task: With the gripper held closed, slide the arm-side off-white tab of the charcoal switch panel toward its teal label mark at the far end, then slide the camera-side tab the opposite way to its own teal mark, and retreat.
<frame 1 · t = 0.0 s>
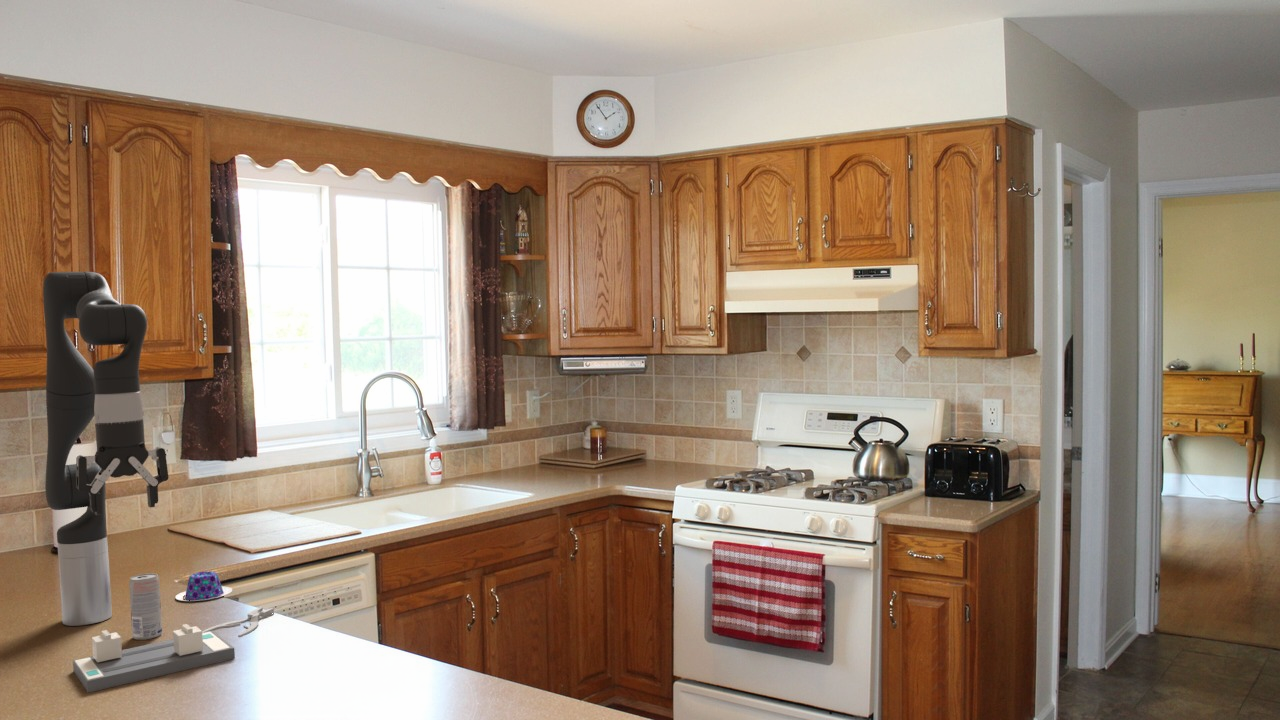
hand: (125, 510, 177), 29 cm above the countertop, fingers open, 8 cm apart
tab b: (187, 638, 183), point 4 cm above the countertop, slide at 12.0 cm
pliers: (244, 626, 206), on the countertop
tab a: (106, 644, 181), point 4 cm above the countertop, slide at 0.0 cm
pudding: (204, 597, 230), on the countertop
switch panel: (155, 664, 183), on the countertop
energy drink: (147, 637, 201), on the countertop
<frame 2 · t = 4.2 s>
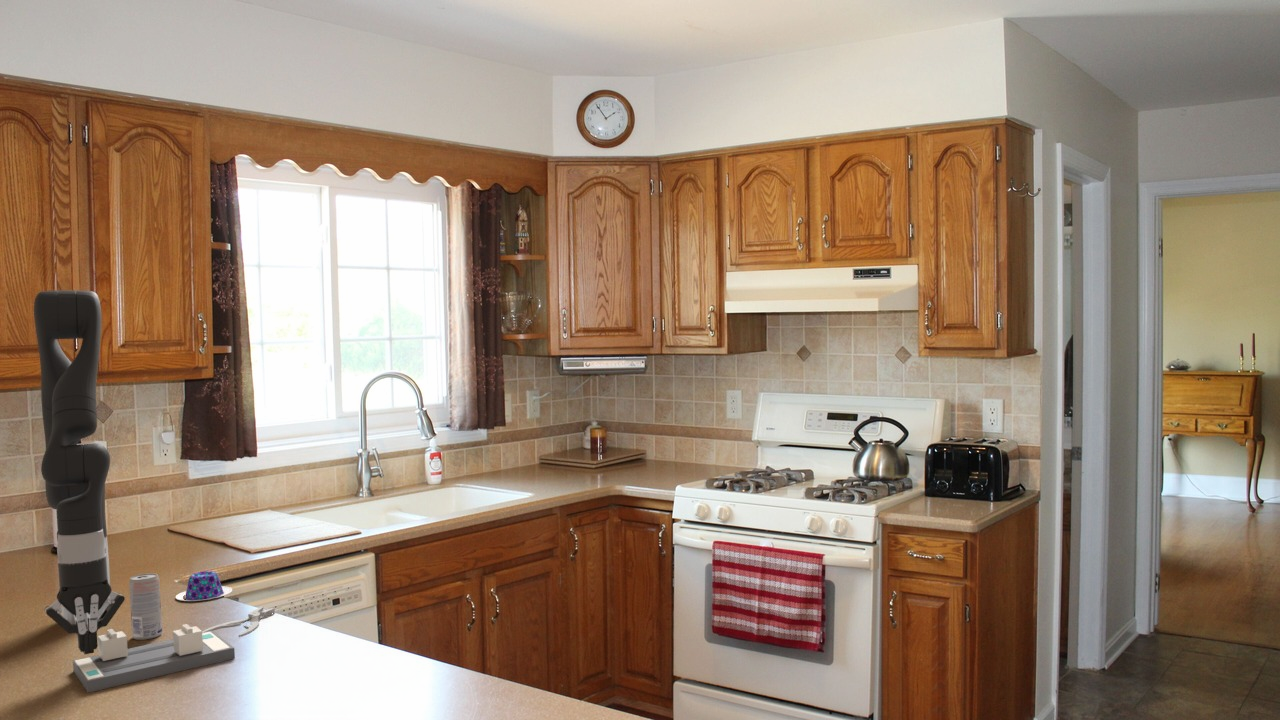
hand: (88, 652, 180), 4 cm above the countertop, fingers closed
tab a: (112, 643, 182), point 4 cm above the countertop, slide at 1.0 cm, touching gripper
everything else where it was.
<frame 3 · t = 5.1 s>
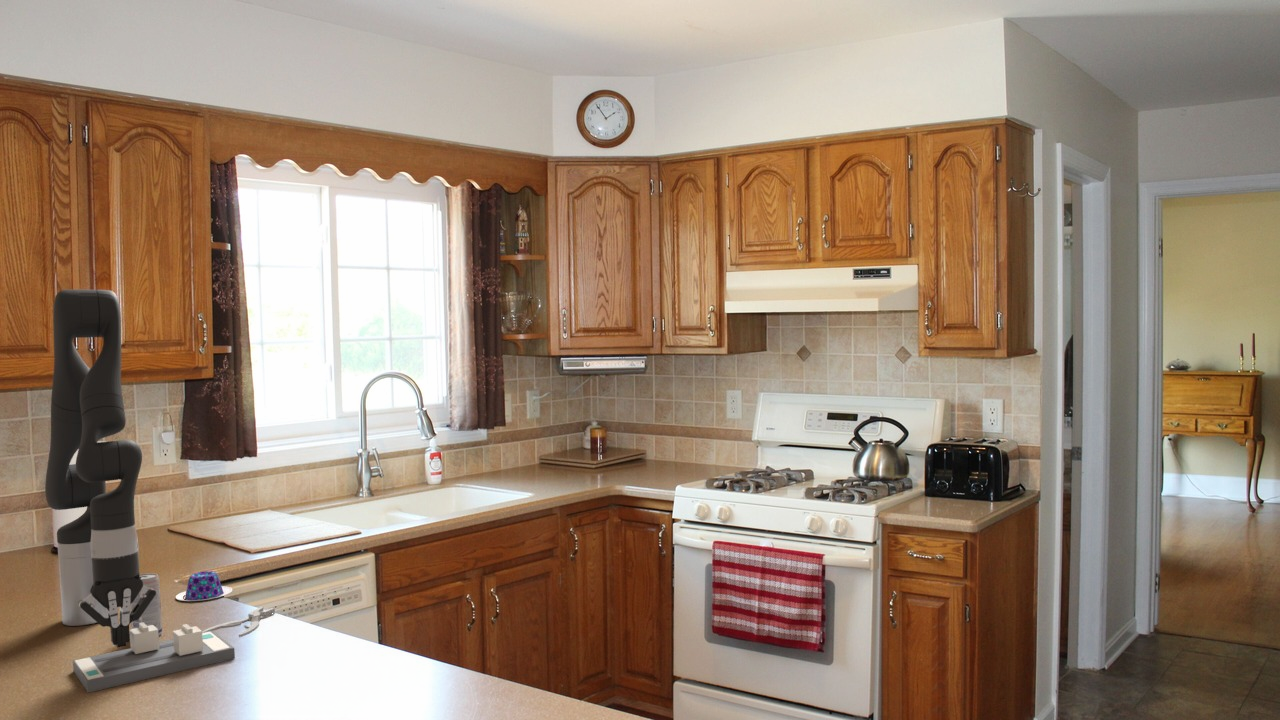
hand: (120, 645, 183), 4 cm above the countertop, fingers closed
tab a: (144, 637, 185), point 4 cm above the countertop, slide at 6.2 cm, touching gripper
everything else where it was.
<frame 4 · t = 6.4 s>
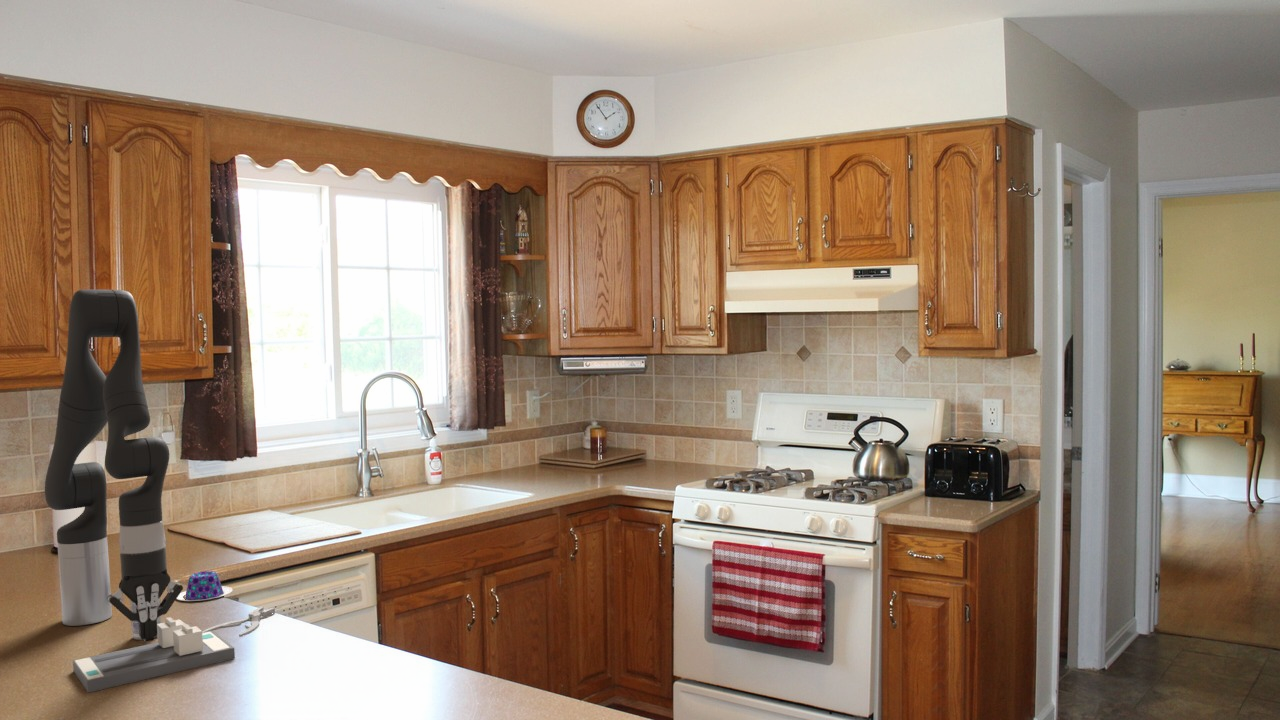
hand: (148, 639, 186), 4 cm above the countertop, fingers closed
tab a: (171, 631, 188), point 4 cm above the countertop, slide at 10.8 cm, touching gripper
everything else where it was.
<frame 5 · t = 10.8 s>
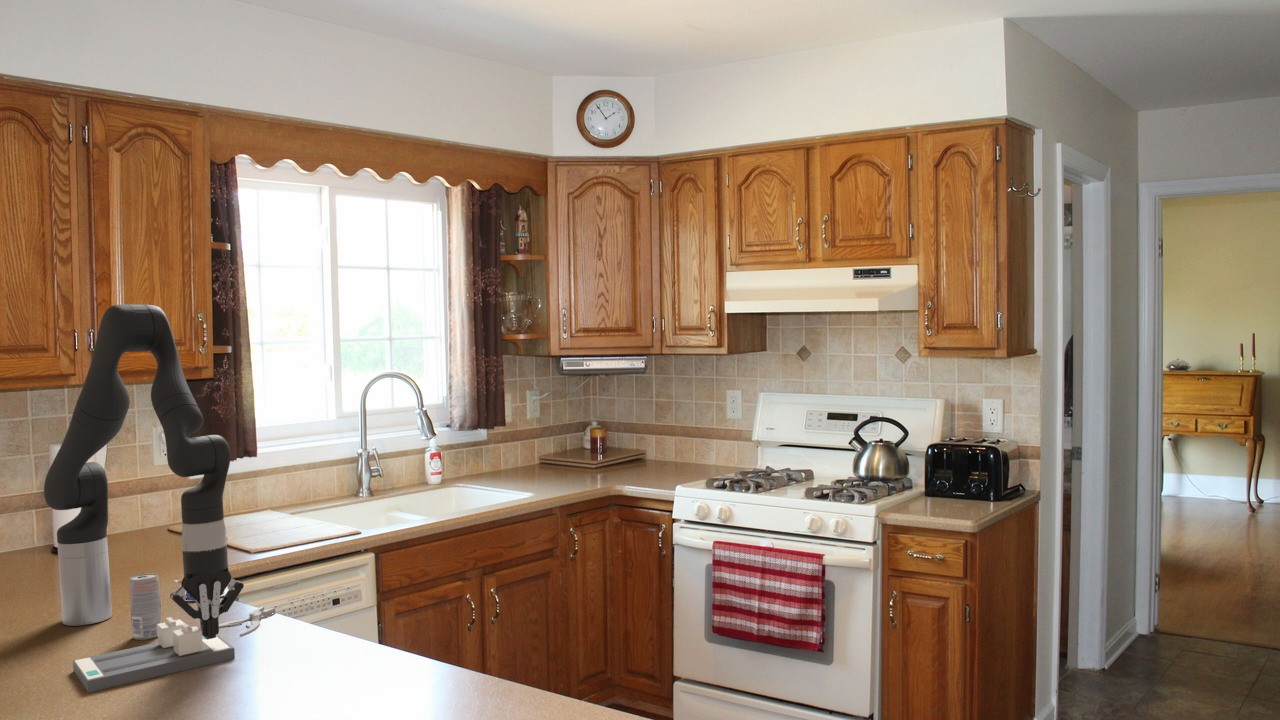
hand: (210, 637, 186), 4 cm above the countertop, fingers closed
tab b: (187, 638, 183), point 4 cm above the countertop, slide at 11.9 cm, touching gripper
tab a: (171, 631, 188), point 4 cm above the countertop, slide at 10.9 cm
everything else where it was.
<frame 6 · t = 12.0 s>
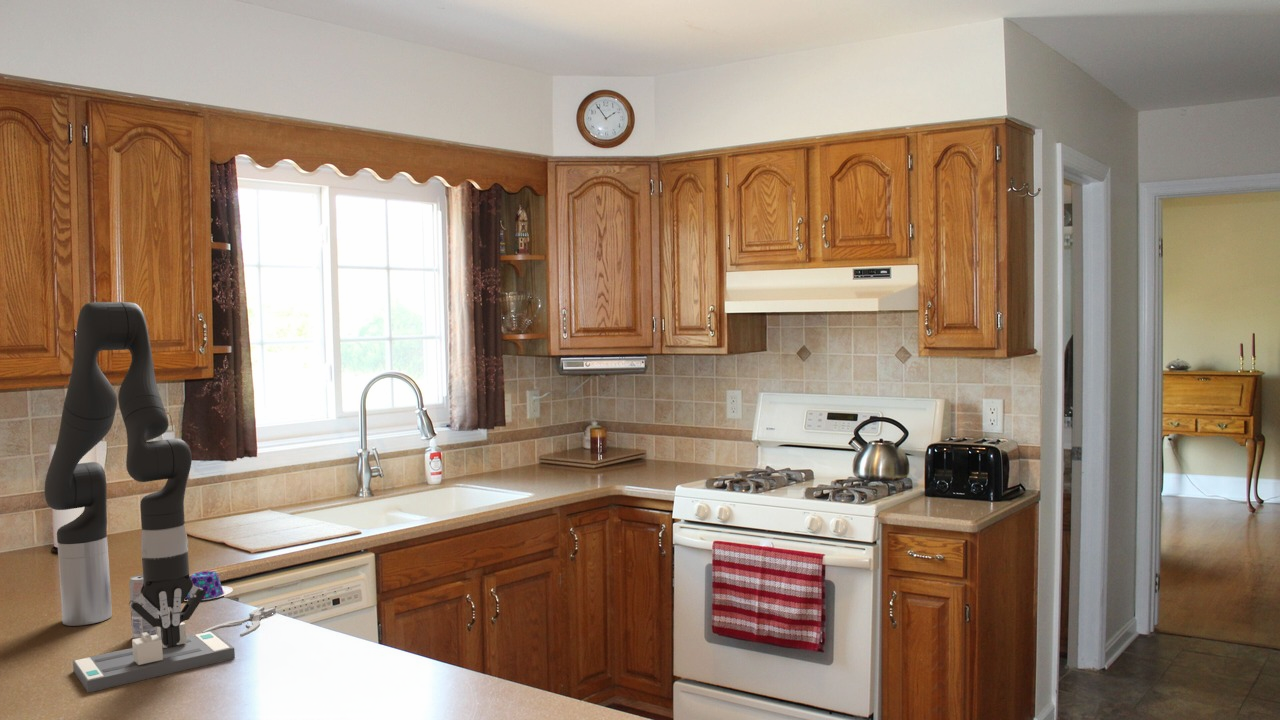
hand: (170, 646, 182), 4 cm above the countertop, fingers closed
tab b: (147, 647, 179), point 4 cm above the countertop, slide at 5.2 cm, touching gripper
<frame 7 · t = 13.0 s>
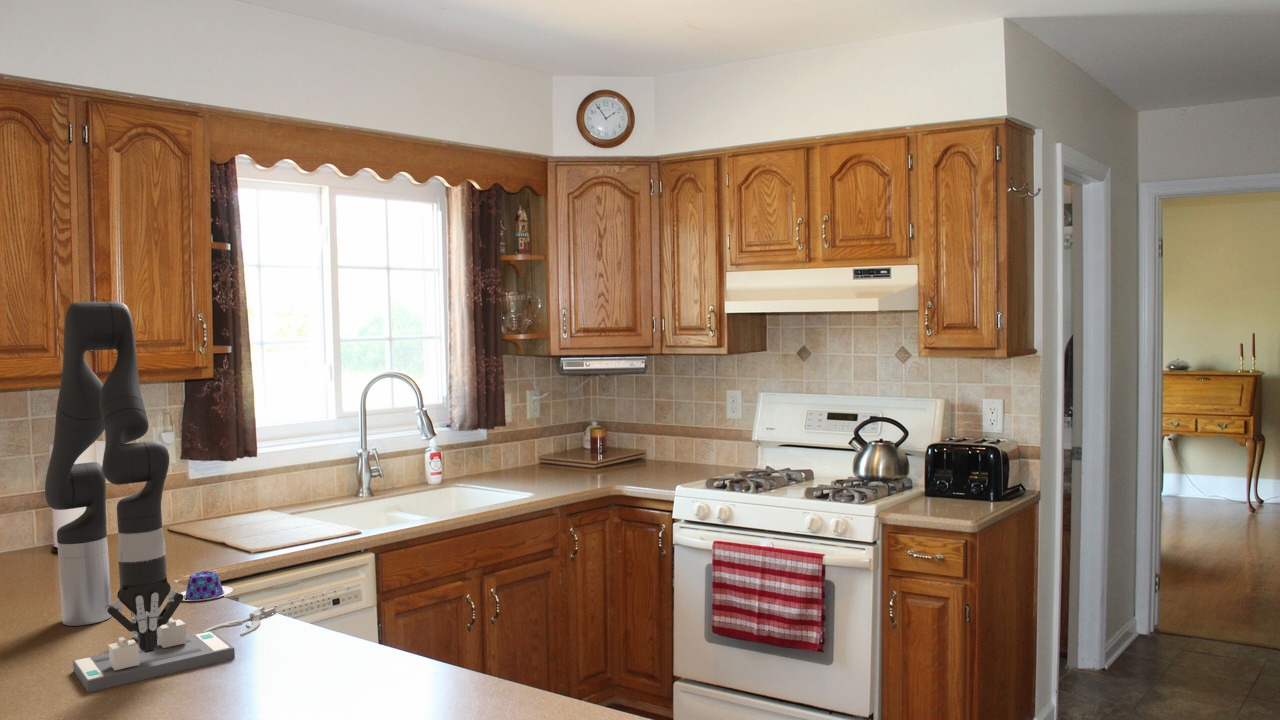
hand: (148, 651, 179), 4 cm above the countertop, fingers closed
tab b: (123, 652, 177), point 4 cm above the countertop, slide at 1.4 cm, touching gripper
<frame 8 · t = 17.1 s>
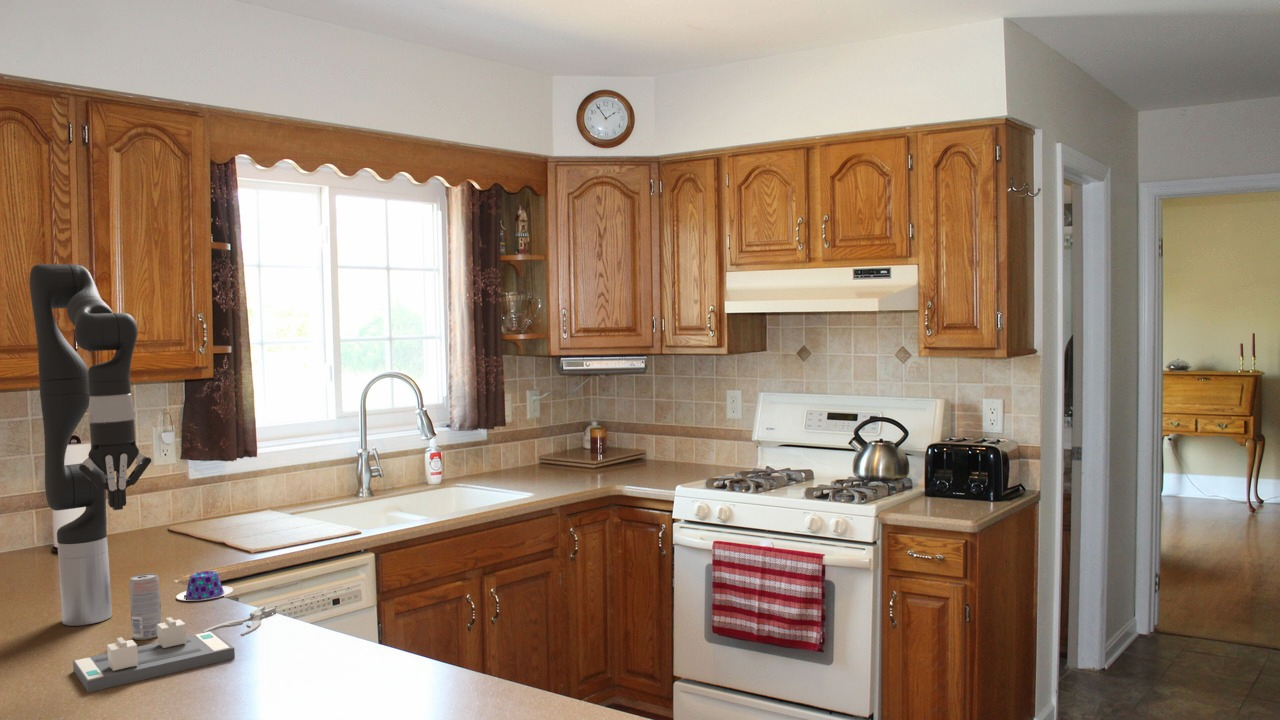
hand: (117, 509, 192), 27 cm above the countertop, fingers closed
tab b: (122, 652, 177), point 4 cm above the countertop, slide at 1.2 cm
at the end: tab a slide at 10.9 cm; tab b slide at 1.2 cm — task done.
